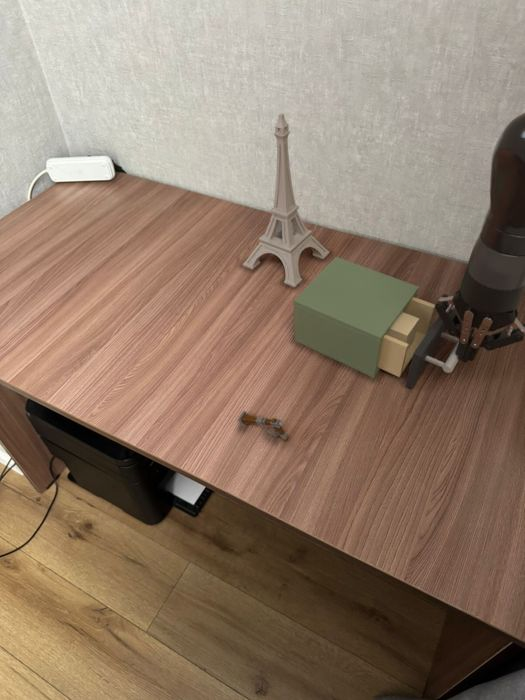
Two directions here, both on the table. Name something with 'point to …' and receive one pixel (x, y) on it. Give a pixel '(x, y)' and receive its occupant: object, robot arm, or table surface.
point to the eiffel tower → (285, 219)
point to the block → (404, 328)
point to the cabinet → (350, 313)
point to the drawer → (417, 345)
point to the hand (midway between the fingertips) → (464, 357)
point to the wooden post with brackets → (264, 424)
